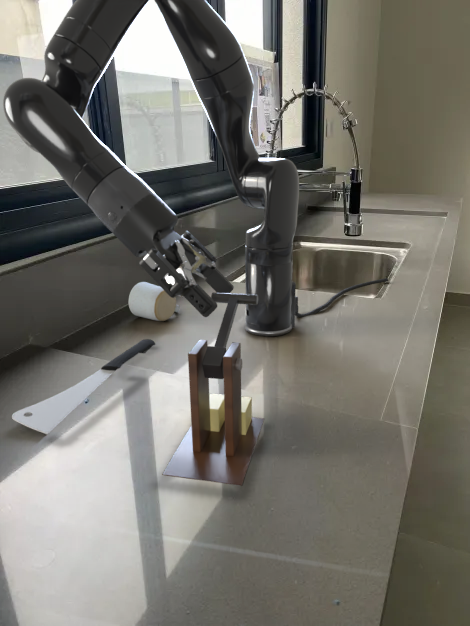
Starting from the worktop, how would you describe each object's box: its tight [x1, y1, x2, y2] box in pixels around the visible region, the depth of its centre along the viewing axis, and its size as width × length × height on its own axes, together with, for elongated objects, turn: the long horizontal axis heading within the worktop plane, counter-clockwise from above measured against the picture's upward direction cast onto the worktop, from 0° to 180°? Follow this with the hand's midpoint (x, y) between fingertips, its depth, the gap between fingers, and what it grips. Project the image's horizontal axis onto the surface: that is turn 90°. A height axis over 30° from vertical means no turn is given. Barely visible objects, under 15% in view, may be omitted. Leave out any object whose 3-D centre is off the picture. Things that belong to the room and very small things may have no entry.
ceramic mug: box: [128, 281, 181, 322], centre depth 109 cm, size 11×8×8 cm
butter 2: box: [241, 395, 253, 435], centre depth 63 cm, size 4×2×3 cm, turn 167°
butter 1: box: [209, 392, 225, 432], centre depth 64 cm, size 4×2×3 cm, turn 167°
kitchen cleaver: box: [11, 338, 156, 435], centre depth 78 cm, size 31×2×10 cm
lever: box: [202, 291, 258, 380], centre depth 60 cm, size 13×6×2 cm, turn 167°
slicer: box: [161, 339, 265, 486], centre depth 58 cm, size 14×9×14 cm, turn 167°
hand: (221, 302), depth 65 cm, fingers open, 8 cm apart
